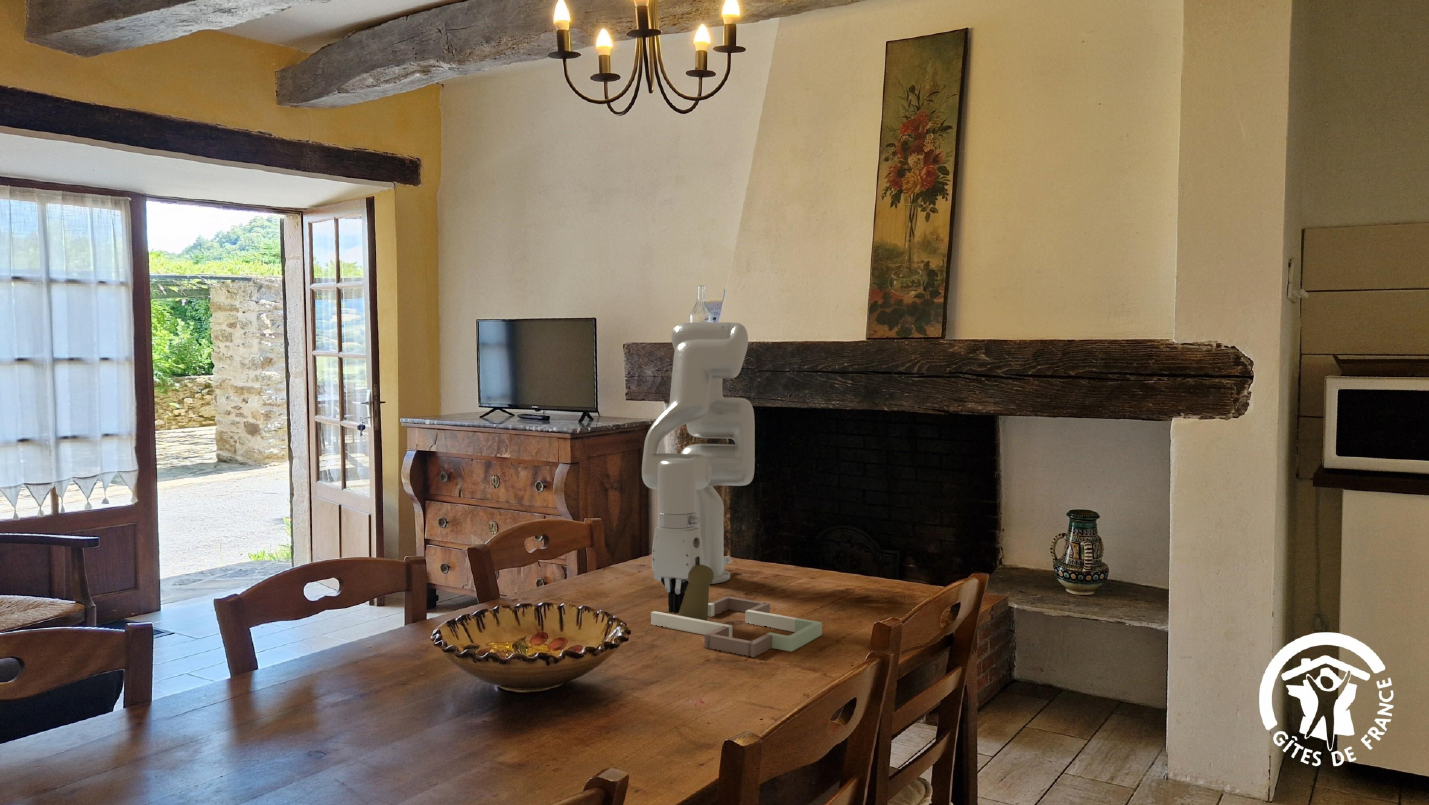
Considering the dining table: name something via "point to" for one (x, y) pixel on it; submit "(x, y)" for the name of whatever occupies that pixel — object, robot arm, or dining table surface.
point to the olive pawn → (697, 593)
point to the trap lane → (754, 614)
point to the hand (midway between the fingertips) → (676, 611)
